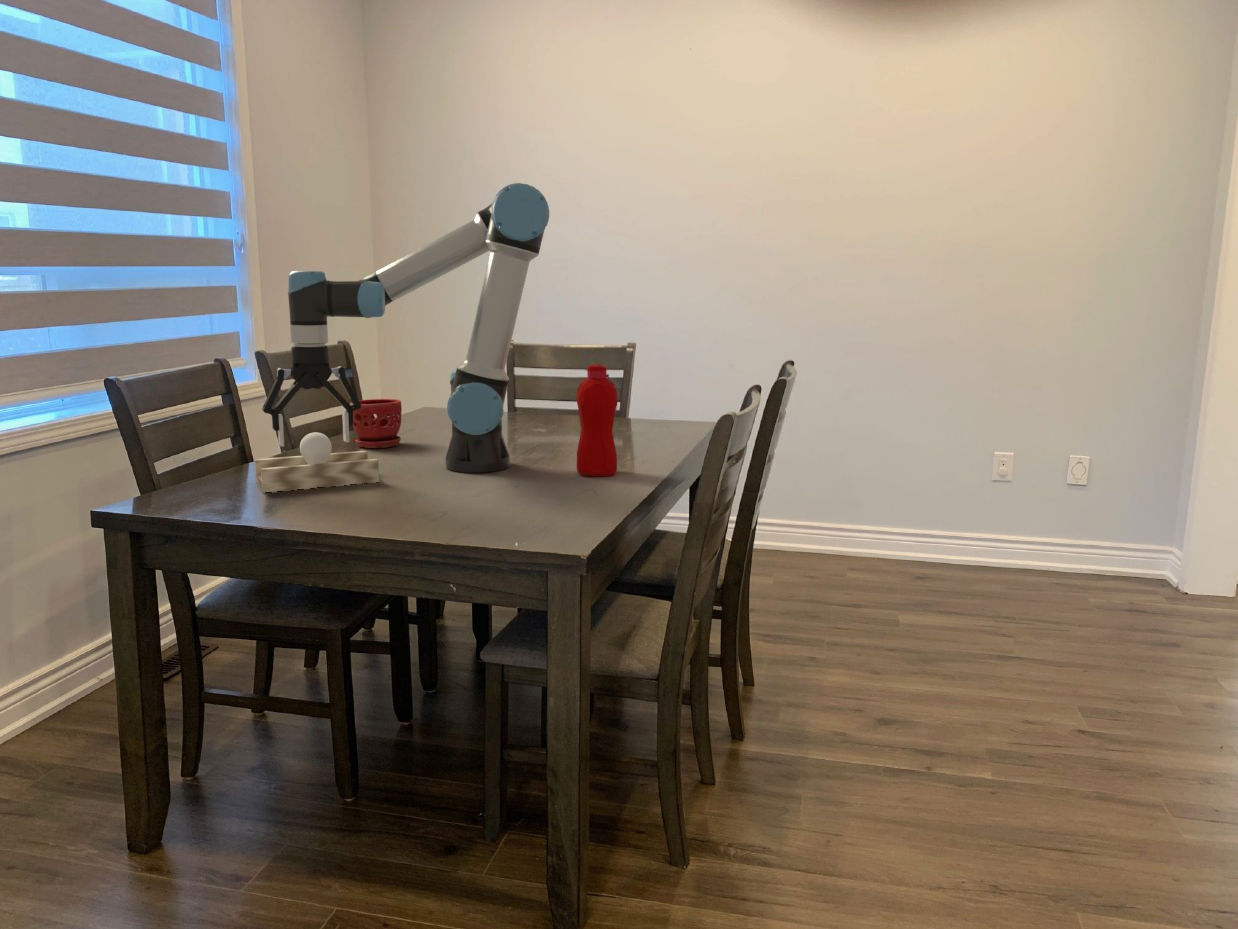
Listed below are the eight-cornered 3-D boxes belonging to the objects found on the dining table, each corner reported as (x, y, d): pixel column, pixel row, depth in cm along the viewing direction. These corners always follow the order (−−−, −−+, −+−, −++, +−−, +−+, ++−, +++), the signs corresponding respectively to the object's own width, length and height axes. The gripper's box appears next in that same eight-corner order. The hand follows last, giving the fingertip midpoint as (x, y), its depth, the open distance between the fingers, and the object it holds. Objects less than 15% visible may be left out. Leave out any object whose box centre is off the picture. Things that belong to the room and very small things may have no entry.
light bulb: (296, 482, 207) (292, 432, 205) (323, 477, 212) (320, 428, 210) (311, 487, 203) (308, 436, 201) (339, 482, 208) (336, 432, 205)
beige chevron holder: (366, 471, 218) (365, 450, 217) (379, 482, 208) (378, 460, 207) (256, 481, 207) (254, 459, 206) (263, 493, 197) (261, 469, 196)
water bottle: (625, 477, 215) (626, 366, 210) (577, 477, 214) (577, 366, 209) (622, 469, 224) (623, 362, 219) (576, 469, 223) (576, 362, 218)
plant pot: (410, 442, 256) (408, 398, 253) (390, 451, 243) (388, 404, 241) (365, 440, 258) (363, 396, 255) (343, 449, 245) (340, 403, 243)
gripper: (365, 342, 210) (368, 436, 215) (245, 344, 199) (251, 444, 203) (373, 345, 204) (376, 442, 208) (249, 347, 192) (255, 450, 197)
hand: (314, 443), depth 206 cm, fingers open, 13 cm apart
